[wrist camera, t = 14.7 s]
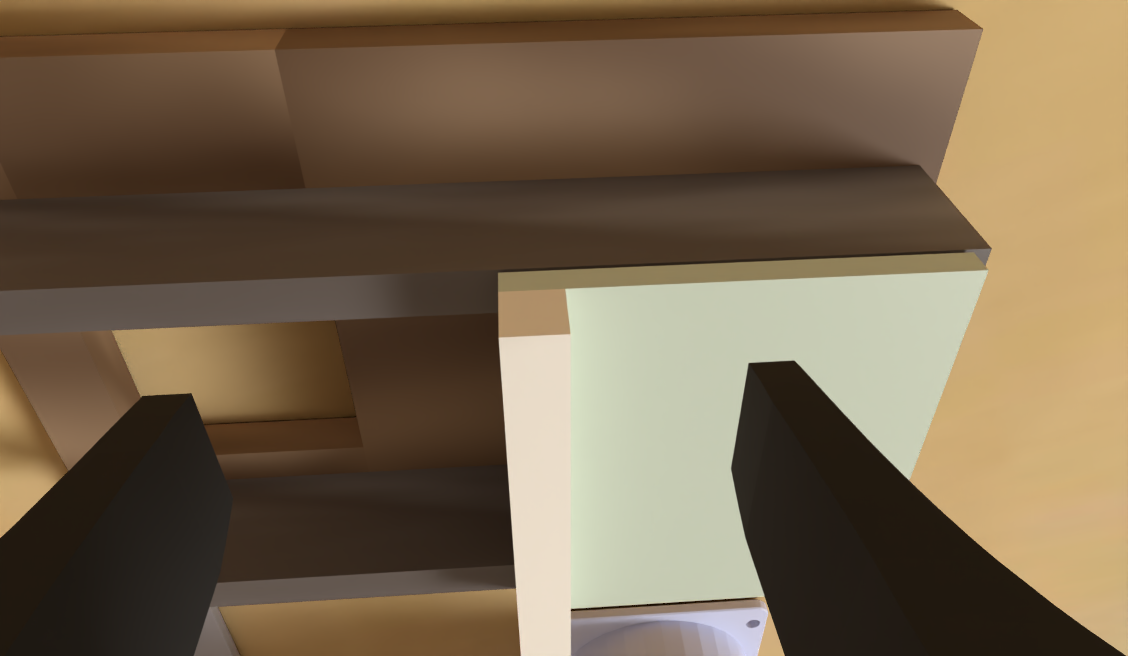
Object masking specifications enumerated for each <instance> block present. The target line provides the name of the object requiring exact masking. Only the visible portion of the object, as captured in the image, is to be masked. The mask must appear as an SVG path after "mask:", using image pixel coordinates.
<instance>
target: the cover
mask: <svg viewBox="0 0 1128 656" xmlns="http://www.w3.org/2000/svg"><path fill="white" fill-rule="evenodd" d="M987 273H988V269H987V268H986V266H985V265H984V264H983V263H982V262H981V260H980V259H979V258H978V257H977V256H976V254H975V253H974V252H969V253H946V254H922V255H899V256H876V257H853V258H829V259H806V260H783V261H759V262H736V263H713V264H690V265H666V266H643V267H620V268H597V269H573V270H550V271H527V272H503V273H498V322H499V350H500V364H501V378H502V393H503V407H504V421H505V436H506V450H507V464H508V478H509V493H510V507H511V521H512V536H513V550H514V564H515V579H516V593H517V607H518V622H519V636H520V650H521V656H571V609H576V608H591V607H607V606H623V605H639V604H655V603H670V602H686V601H702V600H718V599H733V598H749V597H765V596H764V593H763V590H762V587H761V584H760V581H759V578H758V575H757V572H756V569H755V566H754V563H753V560H752V557H751V554H750V551H749V548H748V545H747V542H746V539H745V534H744V530H743V525H742V521H741V516H740V512H739V507H738V502H737V497H736V492H735V487H734V482H733V477H732V472H731V465H732V459H733V453H734V447H735V441H736V435H737V429H738V423H739V417H740V411H741V405H742V399H743V393H744V387H745V381H746V375H747V369H748V363H755V362H774V361H792V360H794V361H795V362H796V363H797V364H799V365H800V366H801V368H802V369H803V370H804V371H805V372H806V373H807V374H808V375H809V376H810V377H811V378H812V379H813V380H814V382H815V383H816V384H817V385H818V386H819V387H820V388H821V389H822V390H823V391H824V392H825V394H826V395H827V396H828V397H829V398H830V399H831V400H832V401H833V402H834V403H835V404H836V406H837V407H838V408H839V409H840V410H841V411H842V412H843V413H844V414H845V415H846V416H847V417H848V418H849V419H850V421H851V422H852V423H853V424H854V425H855V426H856V427H857V428H858V429H859V430H860V431H861V432H862V433H863V434H864V435H865V436H866V438H867V439H868V440H869V441H870V442H871V443H872V444H873V445H874V446H875V447H876V448H877V449H878V450H879V451H880V452H881V453H882V454H883V455H884V456H885V457H886V458H887V459H888V460H889V461H890V462H891V463H892V464H893V465H894V466H895V467H896V468H897V469H898V470H899V471H900V472H901V473H902V474H903V475H904V476H905V477H906V478H907V479H908V480H910V477H911V475H912V472H913V469H914V467H915V464H916V461H917V459H918V456H919V453H920V451H921V448H922V445H923V443H924V440H925V437H926V435H927V432H928V429H929V427H930V424H931V422H932V419H933V416H934V414H935V411H936V408H937V406H938V403H939V400H940V398H941V395H942V392H943V390H944V387H945V384H946V382H947V379H948V376H949V374H950V371H951V369H952V366H953V363H954V361H955V358H956V355H957V353H958V350H959V347H960V345H961V342H962V339H963V337H964V334H965V331H966V329H967V326H968V323H969V321H970V318H971V315H972V313H973V310H974V308H975V305H976V302H977V300H978V297H979V294H980V292H981V289H982V286H983V284H984V281H985V278H986V276H987Z"/></svg>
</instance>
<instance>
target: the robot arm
mask: <svg viewBox="0 0 1128 656" xmlns="http://www.w3.org/2000/svg"><path fill="white" fill-rule="evenodd" d="M731 472H732V477H733V482H734V487H735V492H736V497H737V502H738V507H739V512H740V516H741V521H742V525H743V530H744V534H745V539H746V542H747V545H748V548H749V551H750V554H751V557H752V560H753V563H754V566H755V569H756V572H757V575H758V578H759V581H760V584H761V587H762V590H763V593H764V596H765V599H766V602H767V605H768V607H769V610H770V613H771V616H772V619H773V622H774V625H775V628H776V631H777V634H778V637H779V640H780V643H781V645H782V648H783V651H784V654H785V656H1126V655H1124V654H1123V653H1121V652H1120V651H1118V650H1117V649H1115V648H1114V647H1112V646H1111V645H1110V644H1108V643H1107V642H1105V641H1104V640H1102V639H1101V638H1099V637H1098V636H1097V635H1095V634H1094V633H1092V632H1091V631H1089V630H1088V629H1086V628H1085V627H1084V626H1082V625H1081V624H1080V623H1078V622H1077V621H1075V620H1074V619H1073V618H1071V617H1070V616H1069V615H1067V614H1066V613H1064V612H1063V611H1062V610H1060V609H1059V608H1058V607H1056V606H1055V605H1054V604H1052V603H1051V602H1050V601H1048V600H1047V599H1046V598H1045V597H1043V596H1042V595H1041V594H1040V593H1038V592H1037V591H1036V590H1034V589H1033V588H1032V587H1031V586H1029V585H1028V584H1027V583H1026V582H1024V581H1023V580H1022V579H1020V578H1019V577H1018V576H1017V575H1015V574H1014V573H1013V572H1012V571H1010V570H1009V569H1008V568H1006V567H1005V566H1004V565H1003V564H1001V563H1000V562H999V561H998V560H997V559H995V558H994V557H993V556H992V555H991V554H989V553H988V552H987V551H986V550H985V549H983V548H982V547H981V546H980V545H979V544H978V543H976V542H975V541H974V540H973V539H972V538H971V537H969V536H968V535H967V534H966V533H965V532H964V531H963V530H962V529H961V528H959V527H958V526H957V525H956V524H955V523H954V522H953V521H952V520H951V519H949V518H948V517H947V516H946V515H945V514H944V513H943V512H942V511H941V510H940V509H938V508H937V507H936V506H935V505H934V504H933V503H932V502H931V501H930V500H929V499H928V498H927V497H926V496H925V495H924V494H923V493H922V492H920V491H919V490H918V489H917V488H916V487H915V486H914V485H913V484H912V483H911V482H910V481H909V480H908V479H907V478H906V477H905V476H904V475H903V474H902V473H901V472H900V471H899V470H898V469H897V468H896V467H895V466H894V465H893V464H892V463H891V462H890V461H889V460H888V459H887V458H886V457H885V456H884V455H883V454H882V453H881V452H880V451H879V450H878V449H877V448H876V447H875V446H874V445H873V444H872V443H871V442H870V441H869V440H868V439H867V438H866V436H865V435H864V434H863V433H862V432H861V431H860V430H859V429H858V428H857V427H856V426H855V425H854V424H853V423H852V422H851V421H850V419H849V418H848V417H847V416H846V415H845V414H844V413H843V412H842V411H841V410H840V409H839V408H838V407H837V406H836V404H835V403H834V402H833V401H832V400H831V399H830V398H829V397H828V396H827V395H826V394H825V392H824V391H823V390H822V389H821V388H820V387H819V386H818V385H817V384H816V383H815V382H814V380H813V379H812V378H811V377H810V376H809V375H808V374H807V373H806V372H805V371H804V370H803V369H802V368H801V366H800V365H799V364H797V363H796V362H795V361H794V360H792V361H774V362H755V363H748V369H747V375H746V381H745V387H744V393H743V399H742V405H741V411H740V417H739V423H738V429H737V435H736V441H735V447H734V453H733V459H732V465H731ZM232 504H233V497H232V494H231V492H230V489H229V487H228V484H227V482H226V479H225V477H224V474H223V472H222V469H221V467H220V464H219V462H218V459H217V457H216V454H215V452H214V449H213V447H212V444H211V442H210V439H209V437H208V434H207V432H206V429H205V426H204V424H203V421H202V419H201V416H200V414H199V411H198V409H197V406H196V404H195V401H194V399H193V396H192V394H191V393H190V394H172V395H154V396H142V397H141V398H140V399H139V400H138V401H137V402H136V403H135V404H134V405H133V406H132V407H131V408H130V409H129V410H128V411H127V412H126V413H125V414H124V415H123V416H122V417H121V418H120V419H119V420H118V421H117V422H116V423H115V424H114V425H113V426H112V427H111V428H110V429H109V430H108V431H107V432H106V433H105V434H104V435H103V436H102V437H101V438H100V439H99V440H98V441H97V443H96V444H95V445H94V446H93V447H92V448H91V449H90V450H89V451H88V452H87V453H86V454H85V455H84V456H83V457H82V458H81V459H80V460H79V461H78V462H77V463H76V464H75V465H74V466H73V467H72V468H71V469H70V470H69V471H68V472H67V473H66V474H65V475H64V476H63V477H62V478H61V479H60V480H59V481H58V482H57V483H56V484H55V485H54V486H53V487H52V488H51V489H50V490H49V491H48V492H47V493H46V494H45V495H44V496H43V497H42V498H41V499H40V500H39V501H38V502H37V503H36V504H35V505H34V506H33V507H32V508H31V509H30V510H29V511H28V512H27V513H26V514H25V515H24V516H23V517H22V518H21V519H20V520H19V521H18V522H17V523H16V524H15V525H14V526H13V527H12V528H11V529H10V530H9V531H8V532H6V533H5V534H4V535H3V536H2V537H1V538H0V656H194V654H195V651H196V647H197V644H198V641H199V638H200V635H201V632H202V629H203V626H204V623H205V619H206V616H207V613H208V610H209V607H210V604H211V600H212V597H213V594H214V591H215V588H216V584H217V581H218V578H219V574H220V571H221V566H222V560H223V555H224V550H225V545H226V540H227V534H228V528H229V522H230V516H231V510H232ZM767 616H768V611H767V607H766V604H765V603H764V602H763V601H760V600H740V601H724V602H709V603H693V604H677V605H661V606H646V607H630V608H614V609H598V610H583V611H571V656H757V655H758V651H759V647H760V643H761V639H762V636H763V632H764V628H765V624H766V620H767Z"/></svg>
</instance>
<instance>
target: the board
mask: <svg viewBox="0 0 1128 656" xmlns="http://www.w3.org/2000/svg"><path fill="white" fill-rule="evenodd" d="M982 31H983V29H982V28H981V27H980V26H978V25H977V24H976V23H974V22H973V21H972V20H970V19H969V18H967V17H966V16H965V15H963V14H962V13H961V12H959V11H958V10H935V11H899V12H864V13H828V14H792V15H757V16H721V17H685V18H650V19H614V20H578V21H543V22H507V23H471V24H435V25H400V26H364V27H328V28H293V29H257V30H221V31H186V32H150V33H114V34H79V35H43V36H7V37H0V349H1V351H2V353H3V355H4V356H5V358H6V360H7V362H8V364H9V365H10V367H11V369H12V371H13V373H14V374H15V376H16V378H17V380H18V382H19V383H20V385H21V387H22V389H23V391H24V392H25V394H26V396H27V398H28V400H29V401H30V403H31V405H32V407H33V409H34V410H35V412H36V414H37V416H38V418H39V419H40V421H41V423H42V425H43V427H44V428H45V430H46V432H47V434H48V436H49V437H50V439H51V441H52V443H53V445H54V446H55V448H56V450H57V452H58V454H59V455H60V457H61V459H62V461H63V463H64V464H65V466H66V468H67V470H68V471H69V470H70V469H71V468H72V467H73V466H74V465H75V464H76V463H77V462H78V461H79V460H80V459H81V458H82V457H83V456H84V455H85V454H86V453H87V452H88V451H89V450H90V449H91V448H92V447H93V446H94V445H95V444H96V443H97V441H98V440H99V439H100V438H101V437H102V436H103V435H104V434H105V433H106V432H107V431H108V430H109V429H110V428H111V427H112V426H113V425H114V424H115V423H116V422H117V421H118V420H119V419H120V418H121V417H122V416H123V415H124V414H125V413H126V412H127V411H128V410H129V409H130V408H131V407H132V406H133V405H134V404H135V403H136V402H137V401H138V400H139V399H140V398H141V397H140V395H139V393H138V390H137V388H136V386H135V384H134V381H133V379H132V377H131V374H130V372H129V370H128V368H127V365H126V363H125V361H124V359H123V356H122V354H121V352H120V349H119V347H118V345H117V343H116V340H115V338H114V336H113V334H112V331H111V330H129V329H151V328H173V327H195V326H217V325H239V324H261V323H283V322H306V321H328V320H335V322H336V327H337V331H338V336H339V340H340V345H341V349H342V353H343V358H344V362H345V367H346V371H347V376H348V380H349V385H350V389H351V394H352V398H353V403H354V407H355V412H356V416H357V417H351V418H331V419H312V420H292V421H273V422H253V423H234V424H214V425H204V426H205V429H206V432H207V434H208V437H209V439H210V442H211V444H212V447H213V449H214V452H215V454H216V457H217V459H218V462H219V464H220V467H221V469H222V472H223V474H224V477H225V479H226V482H227V484H228V487H229V489H230V492H231V494H232V497H233V504H232V510H231V516H230V522H229V528H228V534H227V540H226V545H225V550H224V555H223V560H222V566H221V571H220V574H219V578H218V581H217V584H216V588H215V591H214V594H213V597H212V600H211V604H210V607H222V606H239V605H255V604H271V603H287V602H303V601H319V600H336V599H352V598H368V597H384V596H400V595H416V594H432V593H449V592H465V591H481V590H497V589H513V588H516V579H515V564H514V550H513V536H512V521H511V507H510V493H509V478H508V464H507V450H506V436H505V421H504V407H503V393H502V378H501V364H500V350H499V322H498V273H503V272H527V271H550V270H573V269H597V268H620V267H643V266H666V265H690V264H713V263H736V262H759V261H783V260H806V259H829V258H853V257H876V256H899V255H922V254H946V253H969V252H974V253H975V254H976V256H977V257H978V258H979V259H980V260H981V262H982V263H983V264H984V265H986V263H987V260H988V257H989V254H990V252H991V249H992V248H991V247H990V246H989V245H988V244H987V243H986V241H985V240H984V239H983V238H982V237H981V236H980V234H979V233H978V232H977V231H976V230H975V229H974V227H973V226H972V225H971V224H970V223H969V222H968V221H967V219H966V218H965V217H964V216H963V215H962V214H961V212H960V211H959V210H958V209H957V208H956V207H955V205H954V204H953V203H952V202H951V201H950V200H949V199H948V197H947V196H946V195H945V194H944V193H943V192H942V190H941V189H940V188H939V187H938V186H937V185H936V182H937V179H938V175H939V172H940V169H941V165H942V162H943V159H944V156H945V152H946V149H947V146H948V143H949V139H950V136H951V133H952V130H953V126H954V123H955V120H956V116H957V113H958V110H959V107H960V103H961V100H962V97H963V94H964V90H965V87H966V84H967V80H968V77H969V74H970V71H971V67H972V64H973V61H974V58H975V54H976V51H977V48H978V44H979V41H980V38H981V35H982Z"/></svg>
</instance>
